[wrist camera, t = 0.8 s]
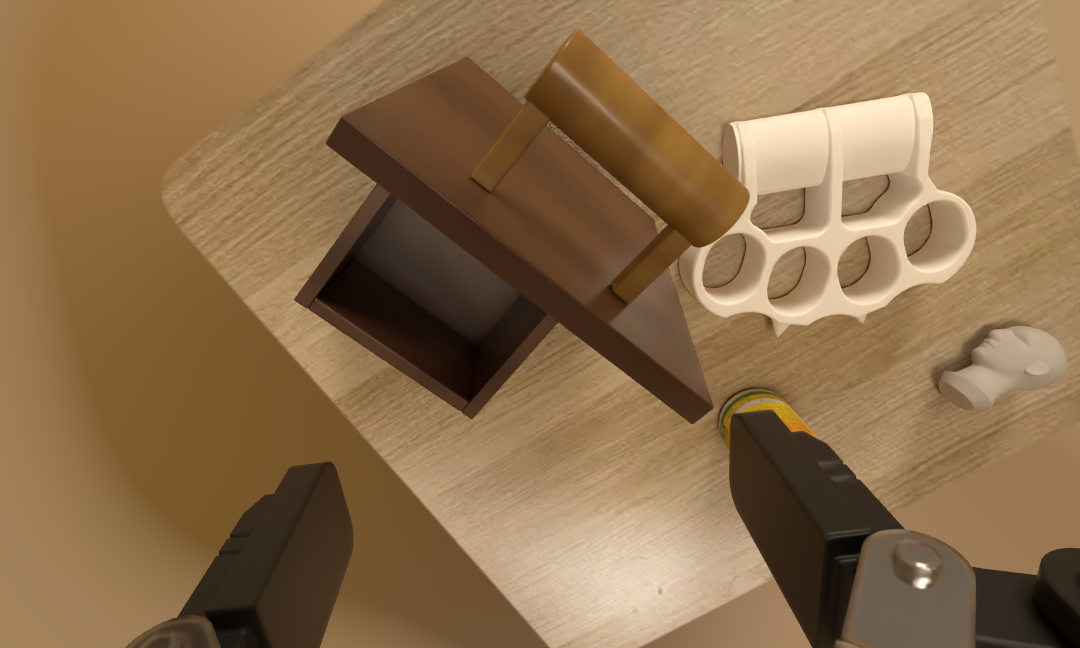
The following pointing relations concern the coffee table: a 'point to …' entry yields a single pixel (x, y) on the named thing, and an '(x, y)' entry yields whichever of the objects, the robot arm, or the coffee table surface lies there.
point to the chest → (424, 304)
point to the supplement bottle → (756, 402)
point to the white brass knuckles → (836, 210)
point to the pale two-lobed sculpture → (1005, 367)
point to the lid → (561, 199)
